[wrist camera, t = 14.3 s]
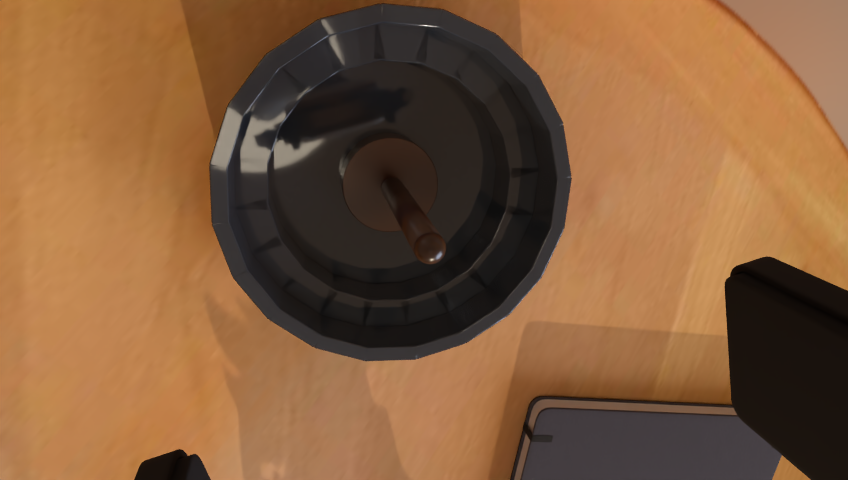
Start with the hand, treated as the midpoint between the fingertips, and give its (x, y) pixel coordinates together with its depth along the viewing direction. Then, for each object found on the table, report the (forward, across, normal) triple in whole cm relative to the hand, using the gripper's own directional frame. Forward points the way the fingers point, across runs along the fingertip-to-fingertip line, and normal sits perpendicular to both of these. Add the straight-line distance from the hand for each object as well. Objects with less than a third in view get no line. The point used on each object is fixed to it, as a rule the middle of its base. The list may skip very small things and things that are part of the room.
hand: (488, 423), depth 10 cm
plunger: (+24, -1, +1) cm, 24 cm away
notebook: (+25, -14, +29) cm, 41 cm away
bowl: (+25, -1, +1) cm, 25 cm away
